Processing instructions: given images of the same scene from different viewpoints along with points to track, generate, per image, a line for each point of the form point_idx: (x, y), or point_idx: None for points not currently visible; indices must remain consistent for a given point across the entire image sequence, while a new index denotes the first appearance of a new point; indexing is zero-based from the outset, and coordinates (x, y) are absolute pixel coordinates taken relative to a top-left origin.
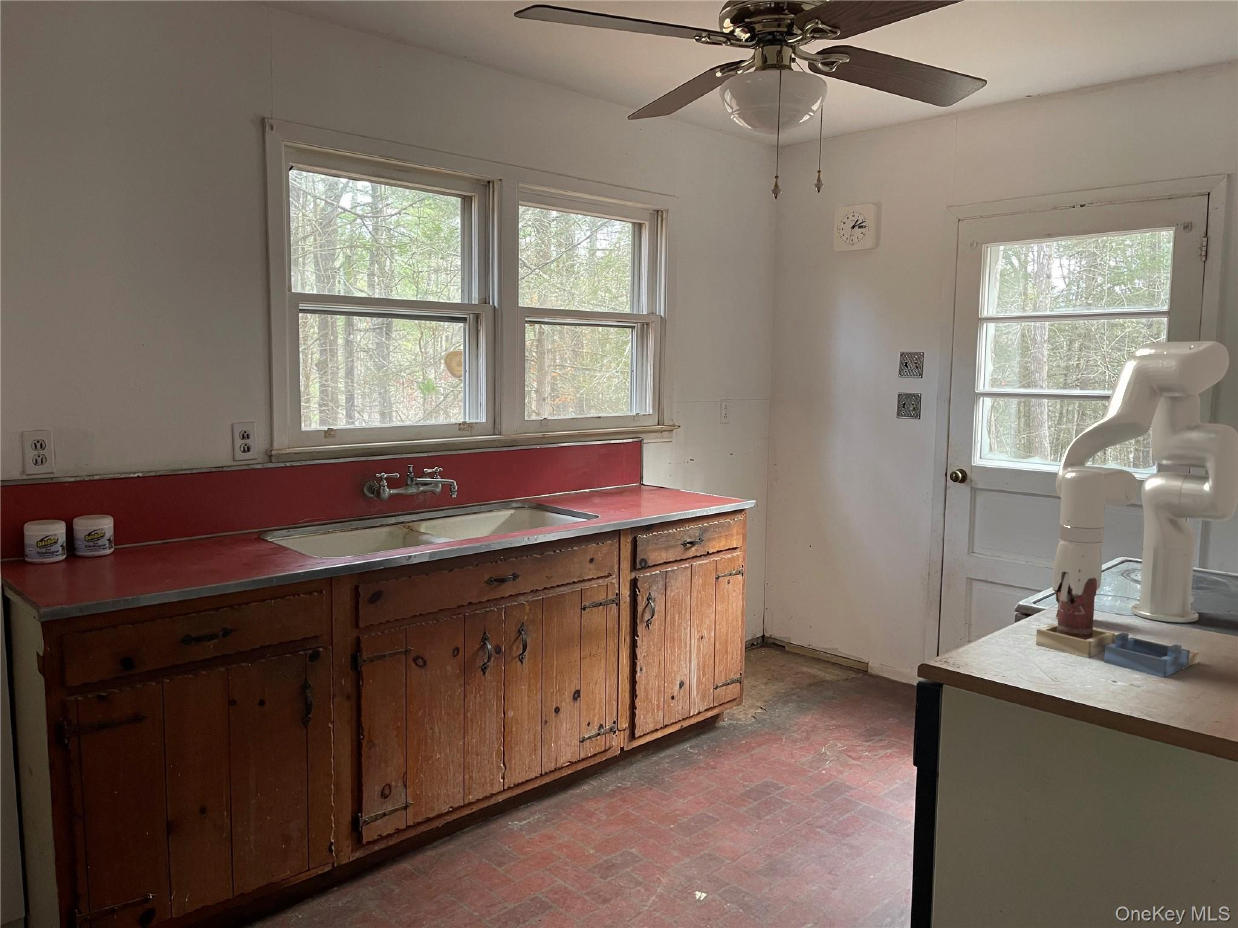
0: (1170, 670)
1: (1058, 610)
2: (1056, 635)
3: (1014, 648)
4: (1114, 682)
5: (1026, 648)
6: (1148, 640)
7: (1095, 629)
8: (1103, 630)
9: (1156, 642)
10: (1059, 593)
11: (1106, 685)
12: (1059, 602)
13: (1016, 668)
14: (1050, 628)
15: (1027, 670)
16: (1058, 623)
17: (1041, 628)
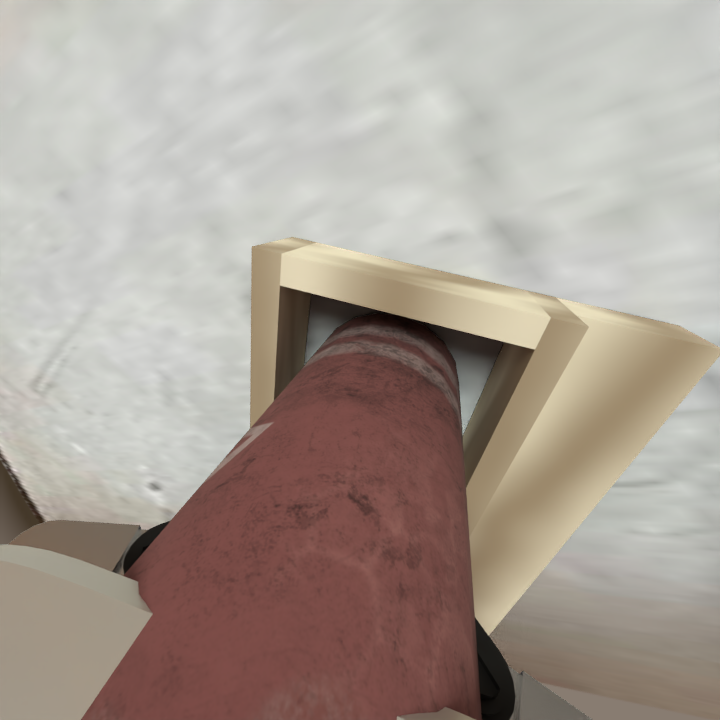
0: None
1: (285, 405)
2: (254, 353)
3: (161, 179)
4: (149, 487)
5: (206, 223)
6: (515, 601)
7: (486, 483)
8: (600, 489)
9: (501, 614)
10: (173, 545)
11: (117, 475)
12: (233, 462)
13: (3, 281)
14: (346, 300)
15: (22, 313)
16: (310, 365)
17: (296, 261)
